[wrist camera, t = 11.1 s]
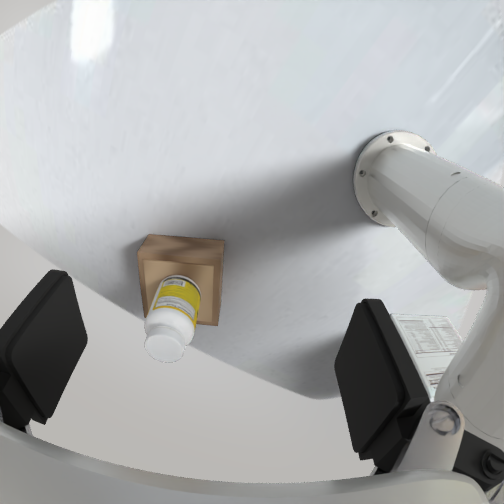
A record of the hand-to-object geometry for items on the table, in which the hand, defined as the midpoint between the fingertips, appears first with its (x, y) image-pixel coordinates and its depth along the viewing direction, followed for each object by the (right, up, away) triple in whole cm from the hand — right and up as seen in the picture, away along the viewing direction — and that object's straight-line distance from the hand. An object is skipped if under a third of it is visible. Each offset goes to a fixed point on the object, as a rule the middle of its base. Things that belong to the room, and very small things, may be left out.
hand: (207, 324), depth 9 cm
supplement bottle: (-7, -2, +28) cm, 29 cm away
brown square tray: (-8, 0, +32) cm, 33 cm away
